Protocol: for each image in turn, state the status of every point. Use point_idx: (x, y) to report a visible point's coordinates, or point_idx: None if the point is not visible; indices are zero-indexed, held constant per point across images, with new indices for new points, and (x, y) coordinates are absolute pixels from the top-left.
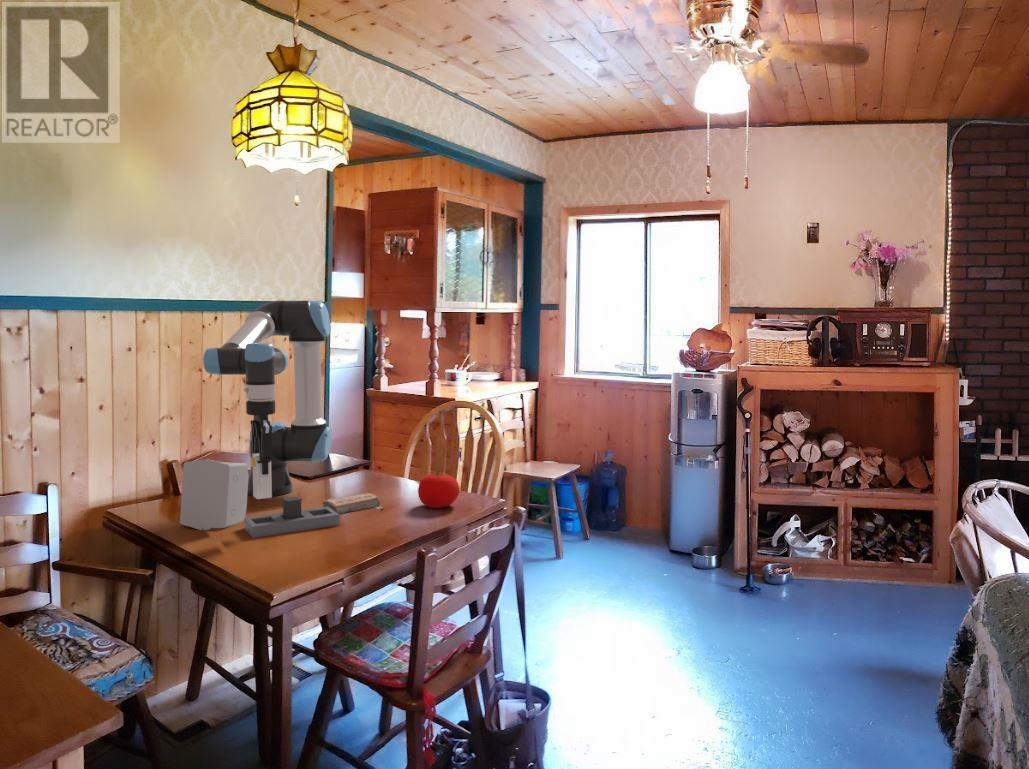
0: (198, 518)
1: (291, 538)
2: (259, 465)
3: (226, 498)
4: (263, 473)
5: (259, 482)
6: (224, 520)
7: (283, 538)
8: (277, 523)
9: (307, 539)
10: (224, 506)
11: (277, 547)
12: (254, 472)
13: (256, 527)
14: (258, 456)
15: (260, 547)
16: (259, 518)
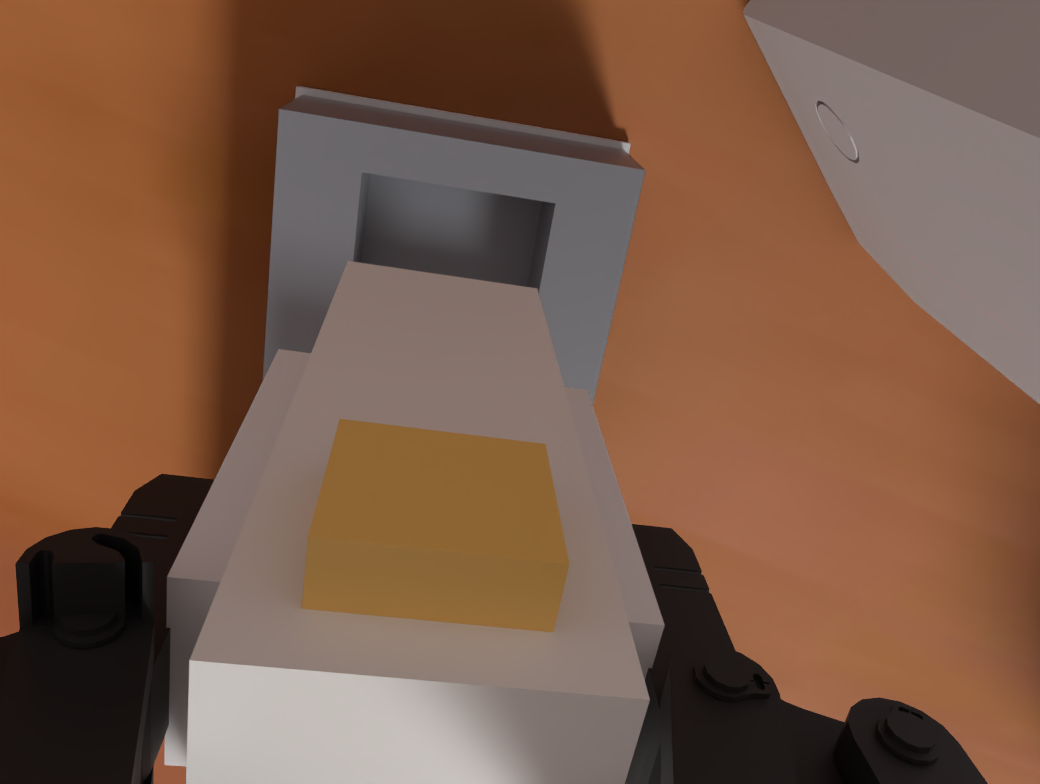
0: None
1: (209, 367)
2: (183, 543)
3: (888, 56)
4: (144, 494)
5: (279, 376)
6: (782, 8)
7: (244, 321)
8: (265, 337)
9: (118, 445)
10: (858, 25)
11: (23, 185)
12: (442, 425)
13: (278, 142)
14: (198, 698)
15: (95, 71)
16: (540, 280)
